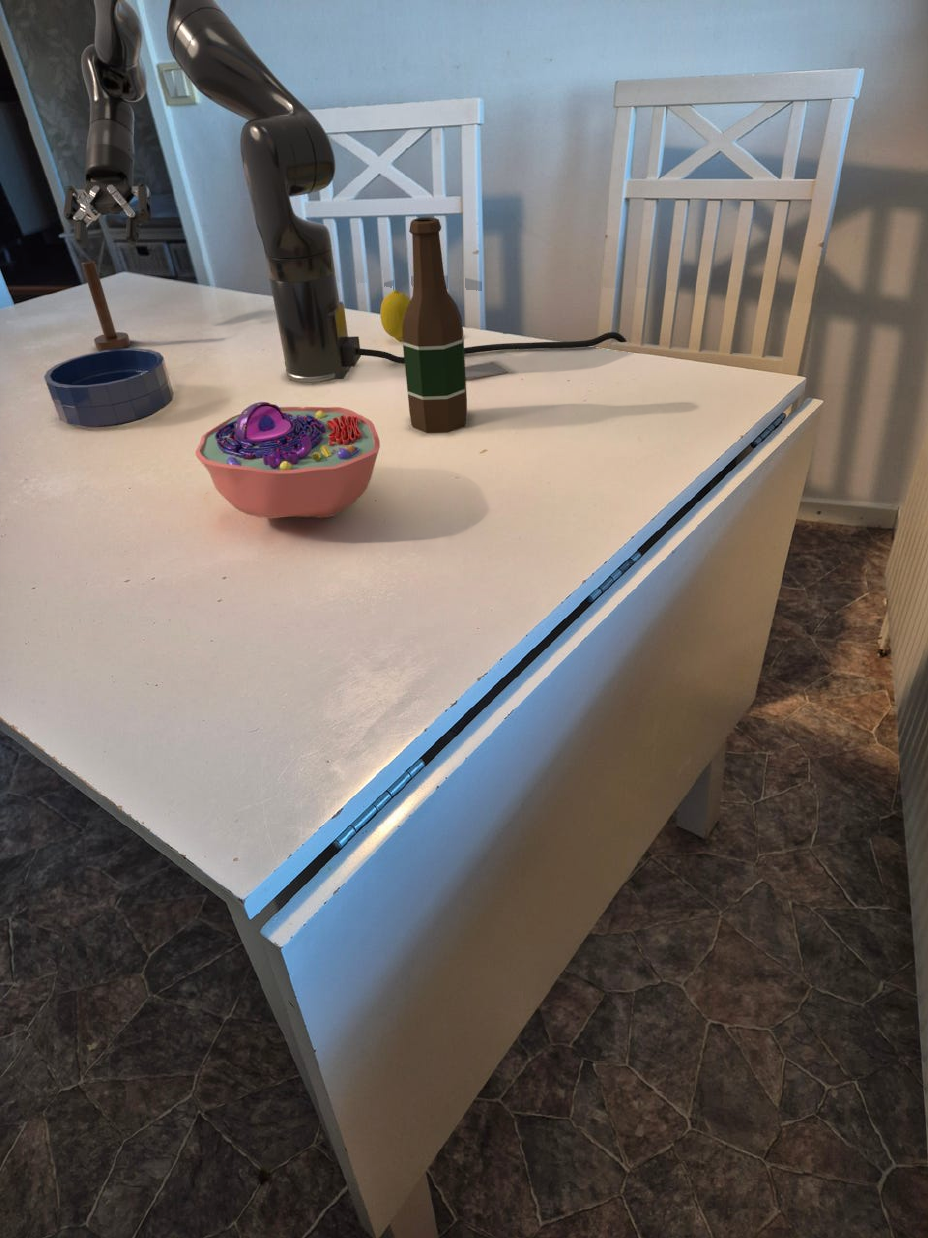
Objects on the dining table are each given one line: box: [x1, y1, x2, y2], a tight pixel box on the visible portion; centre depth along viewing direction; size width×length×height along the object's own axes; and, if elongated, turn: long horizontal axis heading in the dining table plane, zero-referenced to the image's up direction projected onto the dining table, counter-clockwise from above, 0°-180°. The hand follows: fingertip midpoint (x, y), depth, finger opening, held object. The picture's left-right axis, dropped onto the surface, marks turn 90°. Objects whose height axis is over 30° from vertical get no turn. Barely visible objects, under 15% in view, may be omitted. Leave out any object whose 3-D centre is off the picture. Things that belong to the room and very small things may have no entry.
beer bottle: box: [402, 216, 468, 434], centre depth 98 cm, size 8×8×24 cm
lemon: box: [379, 289, 411, 342], centre depth 131 cm, size 6×6×8 cm
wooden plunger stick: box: [81, 260, 131, 352], centre depth 135 cm, size 6×6×14 cm
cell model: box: [195, 401, 381, 519], centre depth 85 cm, size 17×20×11 cm
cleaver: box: [465, 361, 510, 380], centre depth 118 cm, size 13×1×5 cm
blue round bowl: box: [43, 347, 175, 428], centre depth 113 cm, size 16×16×6 cm
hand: (106, 243), depth 137 cm, fingers open, 8 cm apart
